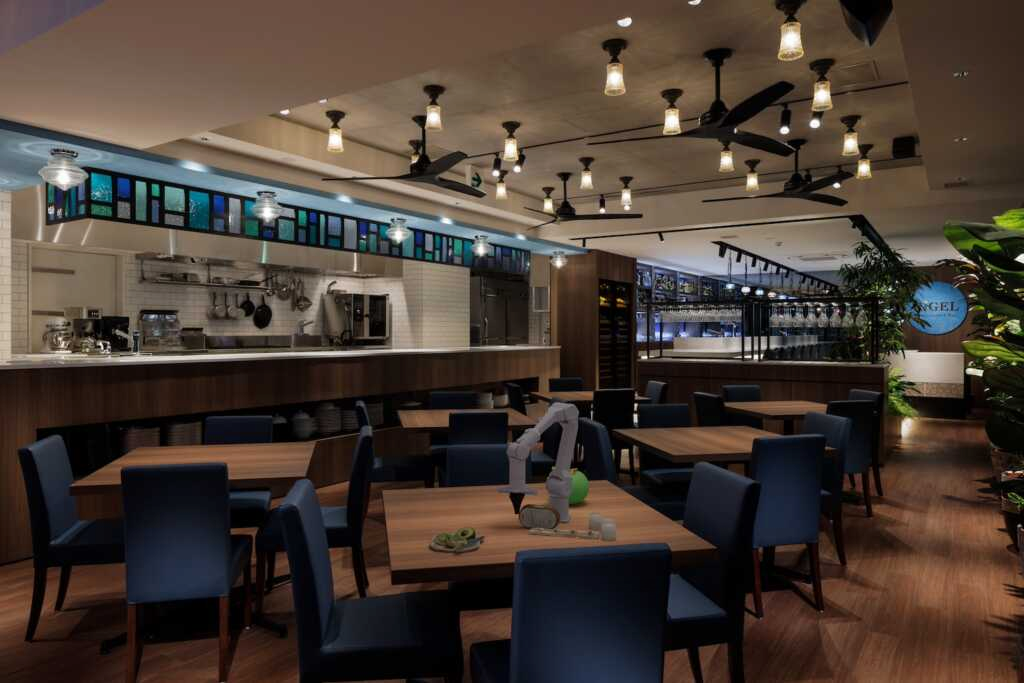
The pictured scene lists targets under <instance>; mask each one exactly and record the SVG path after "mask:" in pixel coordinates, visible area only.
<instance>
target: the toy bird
mask: <svg viewBox="0 0 1024 683" xmlns="http://www.w3.org/2000/svg"><path fill="white" fill-rule="evenodd" d="M554 469H555V466H552V467H551V471H553V470H554ZM569 473H570V474H571V476H572V478H573V481H572V485H573V490H572V493H571V494H570V497H569V499H568V500H569V505H575V504H579V503H580V502H582V501H584V500H585V499H587V497H588V495H589V492H590V485H589V481H588V478H587V476H586V475H585V474H584V473H583V472H582V471H579V470H578V468H570V470H569ZM548 478H549V476H548V477H546V480H547V479H548ZM560 479H562V478H560Z"/></svg>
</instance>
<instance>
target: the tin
mask: <svg viewBox="0 0 1024 683" xmlns="http://www.w3.org/2000/svg"><path fill="white" fill-rule="evenodd" d="M518 520H519V522H520V524H521V525H522V527H524V528H526V529H531V528H544V529H556V528H557V527H558V526H559V524H560V523H561V522H560V514H559V512H558V511H557V510H556V509H555V508H554V507H551V506H549V505H541V504H531V503H528V504H525V505H523V506H522V508H520V511H519V514H518Z"/></svg>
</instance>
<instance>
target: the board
mask: <svg viewBox="0 0 1024 683" xmlns="http://www.w3.org/2000/svg"><path fill="white" fill-rule="evenodd" d="M528 534H529V535H530V534H538V535H537V536H544V535H550V536H549V537H557V536H566V537H565V538H571V537H579V538H578V539H584V538H587V540H588V539H589V540H599V538H600V532H595V531H593V530H591V531H584V530H583V531H581V530H573V529H570V530H565V529H561V528H560V529H557V528H554V529H544V528H530V530H529V531H528Z"/></svg>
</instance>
